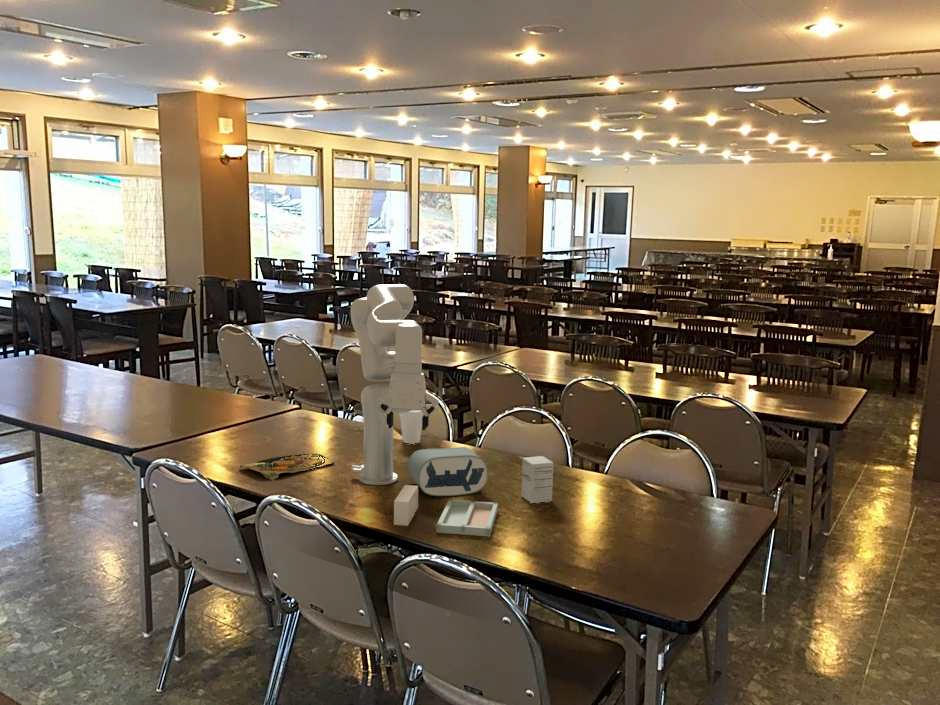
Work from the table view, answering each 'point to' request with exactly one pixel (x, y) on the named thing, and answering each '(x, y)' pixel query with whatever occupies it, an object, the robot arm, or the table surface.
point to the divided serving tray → (468, 518)
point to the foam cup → (411, 426)
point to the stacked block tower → (537, 479)
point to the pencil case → (448, 471)
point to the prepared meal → (282, 465)
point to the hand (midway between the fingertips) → (407, 428)
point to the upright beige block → (405, 505)
